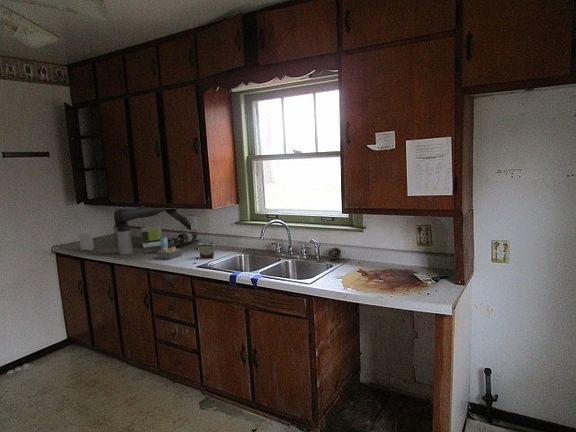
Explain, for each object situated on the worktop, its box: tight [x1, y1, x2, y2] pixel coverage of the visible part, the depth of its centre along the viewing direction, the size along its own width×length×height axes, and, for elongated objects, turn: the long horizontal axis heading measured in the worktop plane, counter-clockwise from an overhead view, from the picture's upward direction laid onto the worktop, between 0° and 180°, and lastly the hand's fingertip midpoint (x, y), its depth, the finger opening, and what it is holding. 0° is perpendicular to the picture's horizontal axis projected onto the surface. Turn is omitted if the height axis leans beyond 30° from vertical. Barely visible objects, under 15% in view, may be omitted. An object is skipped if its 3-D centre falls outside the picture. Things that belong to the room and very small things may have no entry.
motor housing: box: [156, 245, 183, 261], centre depth 273 cm, size 11×12×6 cm
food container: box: [197, 241, 216, 260], centre depth 266 cm, size 12×6×10 cm, turn 74°
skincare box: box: [77, 230, 95, 251], centre depth 309 cm, size 8×6×15 cm
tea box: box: [140, 225, 163, 248], centre depth 315 cm, size 15×10×15 cm, turn 115°
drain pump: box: [160, 235, 169, 251], centre depth 288 cm, size 5×5×12 cm
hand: (169, 242), depth 293 cm, fingers open, 8 cm apart
